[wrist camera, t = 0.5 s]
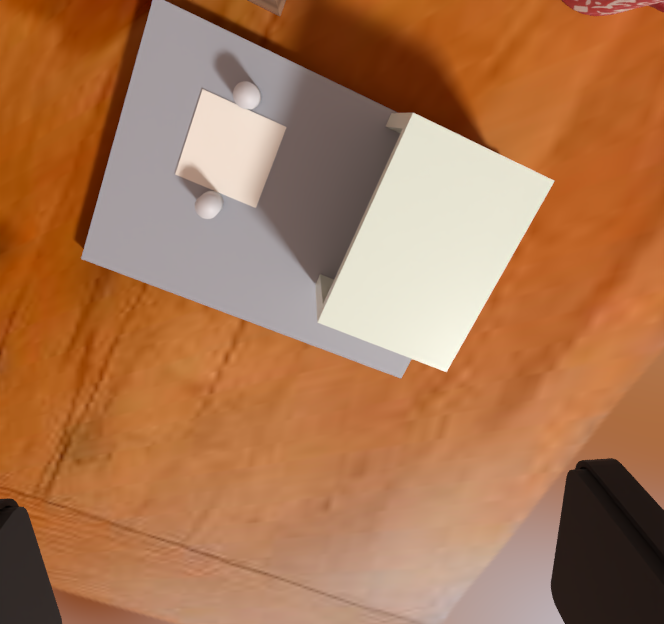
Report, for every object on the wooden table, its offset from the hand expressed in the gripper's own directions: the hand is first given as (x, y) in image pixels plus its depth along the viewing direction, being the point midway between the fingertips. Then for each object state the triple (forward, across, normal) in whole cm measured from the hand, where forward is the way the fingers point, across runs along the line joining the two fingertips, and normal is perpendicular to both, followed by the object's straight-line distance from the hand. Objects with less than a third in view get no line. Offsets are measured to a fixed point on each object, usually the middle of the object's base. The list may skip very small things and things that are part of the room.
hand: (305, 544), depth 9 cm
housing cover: (+26, -7, 0) cm, 26 cm away
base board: (+27, +1, -1) cm, 27 cm away
